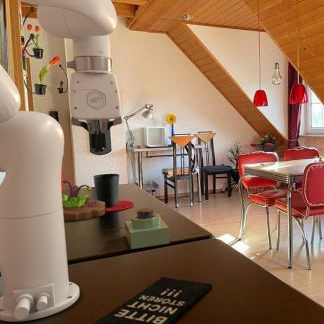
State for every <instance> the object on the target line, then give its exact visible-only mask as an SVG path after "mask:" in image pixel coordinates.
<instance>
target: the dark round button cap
mask: <svg viewBox="0 0 324 324" xmlns="http://www.w3.org/2000/svg"><path fill="white" fill-rule="evenodd" d="M154 213H155V210H154V208H153V207H152V208H151V207H144V208H139V209H136V215H137V218H138V219H148V218H153V217H154Z"/></svg>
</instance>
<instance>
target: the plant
mask: <svg viewBox="0 0 324 324" xmlns="http://www.w3.org/2000/svg"><path fill="white" fill-rule="evenodd" d="M66 183H67V184H68V186H69V195H67V194H63V197H62V206H63V217H64V222H72V221H73V222H76V221H85V220H89V219H92V218H99V217H102V216H104V215H105V214H106V202H105V201H102V200H97V199H92V198H90V197H89V195H90V193H87V194H84V195H82V194H81V193H80V191H81V189H82V188H84V187H85V188H86V191H87V192H91V191H92V187H91V186H90V185H87V184H81V185H80V186H79V185H77V184H74V185H73V184H72V183H71V182H70V181H69V180H61V187H64V186H65V185H66ZM81 195H82V197H81Z"/></svg>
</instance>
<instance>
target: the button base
mask: <svg viewBox="0 0 324 324" xmlns="http://www.w3.org/2000/svg"><path fill="white" fill-rule="evenodd" d="M124 232H125V238H126V241H127V243H128V245H129V247H130V249H131V250H134V249H141V248H147V247H155V246H161V245H168V244H170V243H171V242H170V241H171V240H170V227H169V226H168V224H166V223H165V221H164V220H163V219H162V218H161V215H160V213H156V212H154V217H153V218H148V219H138V218H137V214H134V215H133V216H131V217H130V220H126V221H124Z"/></svg>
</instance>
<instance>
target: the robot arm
mask: <svg viewBox="0 0 324 324" xmlns="http://www.w3.org/2000/svg"><path fill="white" fill-rule="evenodd" d="M17 1H19V2H21V3H27V4H30V5H36V6H37V8H36V18H37V21H38V23H39V25H40V26H41V28H42V29H43V30H44V31H45V32H46V33H47V34H49V35H50V36H52V37H54V38H55V37H56V38H59V39H70V40H71V41H72V52H73V59H72V60H70V61H66V69H67V68H68V69H70V70H71V69H72V70H74V72H71V73H70V81H69V107H70V114H71V117H70V125H71V126H75V127H80V128H83V129H84V130H85V131H86V132H88V133H89V135H90V147H91V149H94V153H99V152H100V153H104V149H106V148H107V141H106V133H107V132H108V131H109V130H110V129H111V128H112V127H114V126H118V125H122V124H123V118H122V105H121V104H122V103H121V95H120V89H119V83H118V77H117V75H116V73H113V71H112V54H111V53H112V52H111V39H110V38H111V37H110V35H111V34H112V33H113V32H114V31H115V29H116V27H117V23H118V15H117V11H116V8H115V6H114V4H113V2H112V0H17ZM21 105H22V101H21V94H20V92H19V89H18V87H17V85H16V84H15V82H14V80H12V77H10V75H9V74H8V71H6V70H5V68H4V67H3V65H1V63H0V173H5V174H4V176H3V179H2V182H1V183H0V278H1V288H2V289H1V290H2V295H1V296H0V321H3V322H9V323H10V322H11V323H18V322H20V323H21V322H29V321H34V320H38V319H39V320H40V319H44V318H47V317H50V316H53V315H55V314H58V313H60V312H62V311H64V310H66V309H68V308H69V307H71V306H72V305H74V304H75V303H76V301H77V300H78V299H79V297H80V287H79V285H78V284H76V283H74V282H72V281H69V279H70V278H69V270H68V269H69V268H68V257H67V256H68V255H67V254H68V253H67V243H66V231H65V230H66V229H65V221H64V217H63V206H62V198H63V193H62V186H61V182H62V167H63V158H64V150H65V134H64V130H63V128H62V126H61V124H60V123H59V122H58V121H57V119H56V118H54V117H52V115H49V114H47V113H43V112H39V111H34V110H20V108H21ZM93 120H94V121H95V120H96V121H97V120H100V127H99V130H98V133H97V130H95V125H94V121H93ZM108 120H109V121H108Z"/></svg>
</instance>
